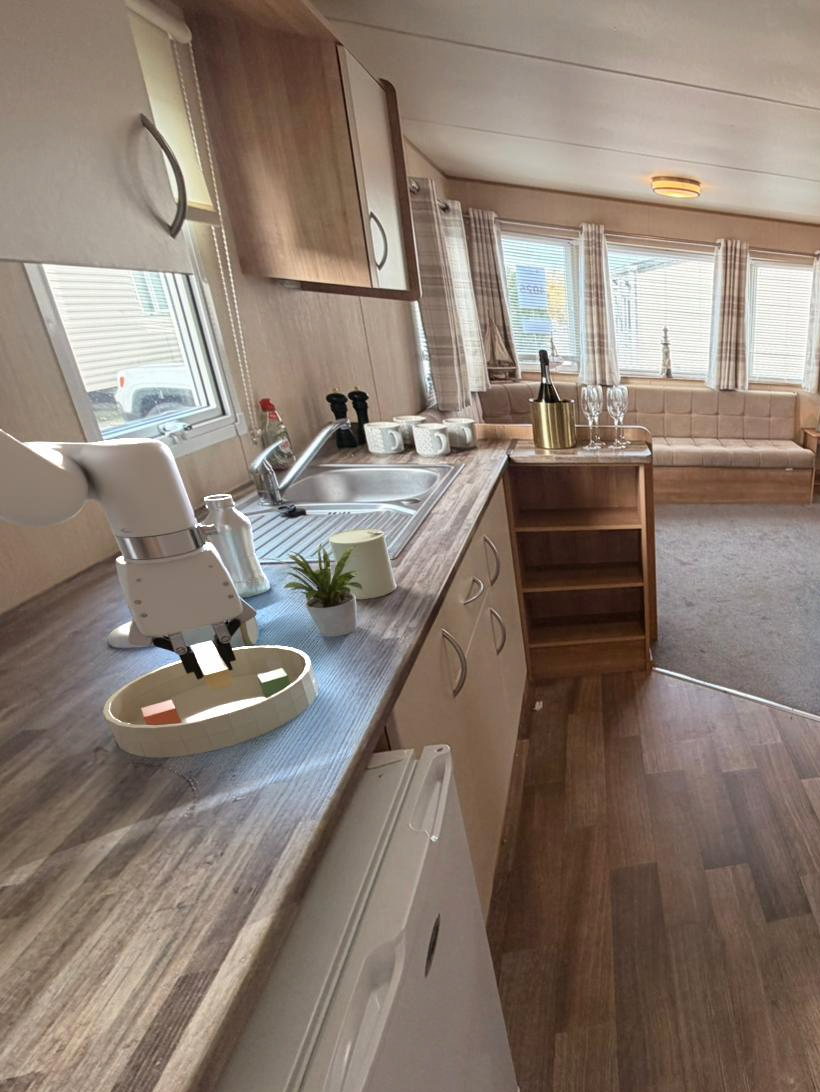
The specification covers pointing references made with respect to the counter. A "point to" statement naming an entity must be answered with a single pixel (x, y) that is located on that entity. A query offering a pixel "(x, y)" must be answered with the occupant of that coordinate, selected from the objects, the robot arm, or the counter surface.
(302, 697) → the bowl
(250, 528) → the plastic bottle
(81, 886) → the counter surface
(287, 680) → the sage block
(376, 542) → the cream tapered cylinder
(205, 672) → the long ochre block
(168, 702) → the terracotta block
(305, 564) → the house plant
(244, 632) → the grey short cylinder
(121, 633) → the donut
